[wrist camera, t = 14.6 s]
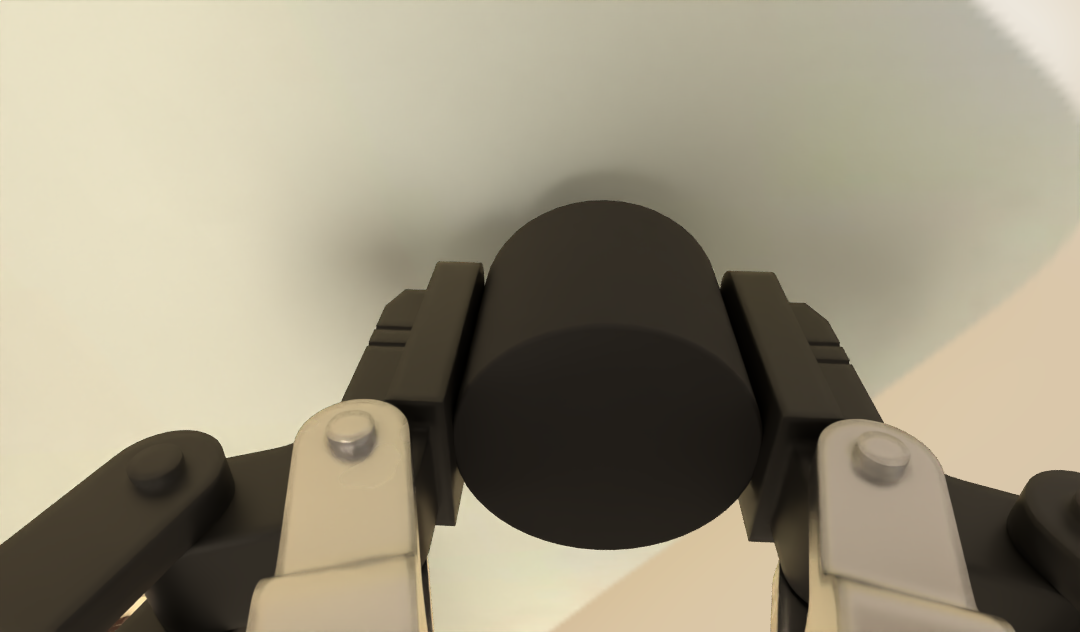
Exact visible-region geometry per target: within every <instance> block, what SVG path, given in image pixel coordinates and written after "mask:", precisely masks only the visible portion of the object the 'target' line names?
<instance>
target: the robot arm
mask: <svg viewBox="0 0 1080 632" xmlns="http://www.w3.org/2000/svg"><path fill="white" fill-rule="evenodd" d="M484 287H485V282H484V269H483V265H482V263H477V262H445V261H439V262H437V264H436V266H435V269H434V272H433V274H432V277H431V279H430V282H429V285H428V287H427V290H411V289H406V290H404V291H403V292H402V293H401V294H399V295H398V296H397V297H396V298H394V299H393V300H392V301H391V302H390V303H388V304H387V305H386V306H385V308H384V310H383V312H382V314H381V317H380V319H379V321H378V323H377V325H376V329H375V330H374V332H373V334H372V336H371V338H370V340H369V346H367V347H366V349H365V351H364V353H363V356H362V358H361V360H360V362H359V364H358V366H357V369H356V371H355V373H354V375H353V377H352V379H351V381H350V384H349V386H348V388H347V390H346V392H345V394H344V397H343V399H342V401H341V402H340V403H337V404H334V405H332V406H329V407H327V408H325V409H323V410H321V411H319V412H318V413H316V414H315V415H313V416H312V417H311V418H309V419H308V420H307V421H306V422H305V423H304V424H303V426H302V427H301V428H300V430H299V431H298V433H297V435H296V437H295V441H294V443H292V444H289V445H287V446H283V447H279V448H275V449H270V450H265V451H260V452H255V453H250V454H245V455H240V456H235V457H230V458H226V457H225V454H224V451H223V449H222V446H221V444H220V443H219V442H218V440H216V439H215V438H214V437H212V436H211V435H208V434H206V433H203V432H199V431H191V430H179V431H171V432H166V433H162V434H158V435H154V436H152V437H149V438H146V439H144V440H141V441H139V442H137V443H135V444H133V445H131V446H129V447H128V448H126V449H124V450H123V451H121V452H120V453H119V454H117V455H116V456H114V457H113V458H112V459H111V460H109V461H108V462H107V463H105V464H104V465H103V466H102V467H100V468H99V469H98V470H96V471H95V472H94V473H93V474H91V475H90V476H89V477H87V478H86V479H85V480H84V481H82V482H81V483H80V484H78V485H77V486H76V487H75V488H73V489H72V490H71V491H69V492H68V493H67V494H66V495H64V496H63V497H62V498H60V499H59V500H58V501H57V502H55V503H54V504H53V505H51V506H50V507H49V508H48V509H46V510H45V511H44V512H42V513H41V514H40V515H39V516H37V517H36V518H35V519H33V520H32V521H31V522H30V523H28V524H27V525H26V526H24V527H23V528H22V529H21V530H19V531H18V532H17V533H15V534H14V535H13V536H12V537H10V538H9V539H8V540H6V541H5V542H4V543H3V544H1V545H0V632H107V631H108V630H109V629H110V628H111V627H112V626H113V625H114V624H115V623H116V622H117V621H118V620H119V619H120V618H121V617H122V616H123V615H124V614H125V613H126V612H127V611H128V610H129V609H130V608H131V607H132V606H133V605H134V604H135V603H136V602H137V601H138V599H139V598H140V597H141V596H142V595H143V594H145V596H146V598H147V599H146V600H145V601H144V602H143V603H142V604H141V605H140V606H139V607H138V608H137V609H136V610H135V611H134V612H133V614H132V615H131V616H130V617H129V618H128V619H127V620H126V621H125V622H124V623H123V624H122V625H121V626H120V627H119V628H118V629H117V630H116V631H115V632H434V624H433V612H432V599H431V587H430V575H429V564H428V557H427V556H428V553H429V550H430V545H431V541H432V536H433V532H434V528H435V525H445V526H455V525H456V520H457V515H458V510H459V505H460V499H461V494H462V489H463V484H464V480H463V478H462V476H461V475H460V473H459V470H458V467H457V464H456V458H455V448H454V436H453V415H454V411H455V407H456V402H457V398H458V394H459V390H460V386H461V382H462V378H463V374H464V370H465V365H466V361H467V357H468V353H469V349H470V345H471V341H472V337H473V332H474V328H475V324H476V320H477V316H478V312H479V308H480V304H481V300H482V295H483V291H484ZM720 292H721V295H722V298H723V301H724V304H725V307H726V310H727V313H728V316H729V319H730V322H731V325H732V328H733V331H734V334H735V337H736V340H737V343H738V346H739V349H740V352H741V355H742V358H743V362H744V365H745V368H746V371H747V374H748V377H749V380H750V383H751V386H752V389H753V392H754V395H755V398H756V401H757V404H758V407H759V410H760V414H761V419H762V424H763V439H762V445H761V449H760V453H759V457H758V461H757V464H756V468H755V471H754V475H753V477H752V479H751V481H750V483H749V484H748V486H747V487H746V489H745V490H744V491H743V493H742V494H741V495H740V496H739V498H738V500H739V504H740V508H741V511H742V515H743V520H744V524H745V528H746V532H747V536H748V540H749V541H752V542H774V543H775V546H776V550H777V553H778V557H779V562H778V565H777V568H776V571H775V574H774V577H773V584H772V608H771V632H1080V473H1078V472H1073V471H1065V470H1051V471H1045V472H1041V473H1039V474H1036V475H1035V476H1033V477H1032V478H1031V479H1030V480H1029V481H1028V483H1027V484H1026V486H1025V487H1024V489H1023V491H1022V492H1021V494H1020V496H1019V495H1016V494H1012V493H1008V492H1004V491H1000V490H997V489H993V488H989V487H986V486H982V485H978V484H974V483H971V482H967V481H963V480H960V479H957V478H954V477H950V476H948V475H946V474H944V472H943V469H942V466H941V464H940V462H939V461H938V459H937V457H935V455H934V454H933V453H932V452H931V451H930V449H928V448H927V447H926V446H925V445H924V444H923V443H922V442H920V441H919V440H917V439H916V438H915V437H913V436H911V435H910V434H908V433H906V432H904V431H902V430H900V429H898V428H895V427H893V426H890V425H888V424H884V422H883V420H882V419H881V417H880V415H879V413H878V411H877V410H876V408H875V406H874V404H873V402H872V400H871V398H870V397H869V395H868V393H867V391H866V389H865V387H864V386H863V384H862V382H861V380H860V378H859V377H858V375H857V373H856V371H855V369H854V367H853V366H852V365H850V364H849V358H848V356H847V355H846V353H845V351H844V349H843V347H840V342H839V340H838V338H837V336H836V335H835V333H834V331H833V329H832V327H831V325H830V324H829V322H828V321H827V320H826V319H825V318H823V317H822V316H821V315H820V314H818V313H817V312H816V311H815V310H813V309H812V308H811V307H810V306H808V305H807V304H806V303H789V302H788V300H787V298H786V296H785V293H784V291H783V289H782V287H781V285H780V283H779V281H778V279H777V277H776V275H775V274H774V273H773V272H751V271H726V272H725V274H724V276H723V279H722V283H721V288H720Z"/></svg>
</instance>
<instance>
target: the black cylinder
mask: <svg viewBox="0 0 1080 632" xmlns="http://www.w3.org/2000/svg"><path fill="white" fill-rule="evenodd" d="M453 436H454V448H455V458H456V464H457V467H458V470H459V473H460V475H461V476H462V478H463V480H464V482H465V484H466V485H467V487H468V488H469V489H470V491H471V492H472V493H473V495H474V496H475V497H476V498H477V499H478V500H479V501H480V502H481V503H482V504H483V505H484V506H485V507H486V508H487V509H488V510H489V511H490V512H492V513H493V514H494V515H495V516H497V517H498V518H499V519H501V520H502V521H504V522H506V523H507V524H509V525H511V526H512V527H514V528H516V529H518V530H520V531H522V532H524V533H526V534H528V535H531V536H534V537H537V538H539V539H542V540H545V541H548V542H552V543H556V544H560V545H564V546H570V547H576V548H583V549H594V550H619V549H632V548H638V547H645V546H650V545H654V544H658V543H662V542H666V541H669V540H672V539H675V538H678V537H681V536H684V535H686V534H688V533H690V532H692V531H694V530H696V529H699V528H700V527H702V526H704V525H705V524H707V523H709V522H710V521H712V520H714V519H715V518H716V517H718V516H719V515H720V514H722V513H723V512H724V511H726V510H727V509H728V508H729V507H730V506H731V505H732V504H733V503H734V502H735V501H736V500H737V499H738V498H739V496H740V495H741V494H742V493H743V491H744V490H745V489H746V487H747V486H748V484H749V483H750V481H751V479H752V477H753V475H754V471H755V468H756V464H757V461H758V457H759V453H760V449H761V445H762V439H763V424H762V419H761V414H760V410H759V407H758V404H757V401H756V398H755V395H754V392H753V389H752V386H751V383H750V380H749V377H748V374H747V371H746V368H745V365H744V362H743V358H742V355H741V352H740V349H739V346H738V343H737V340H736V337H735V334H734V331H733V328H732V325H731V322H730V319H729V316H728V313H727V310H726V307H725V304H724V301H723V298H722V295H721V292H720V289H719V286H718V282H717V279H716V276H715V273H714V271H713V268H712V266H711V263H710V261H709V259H708V257H707V255H706V254H705V252H704V250H703V249H702V247H701V246H700V245H699V244H698V242H697V241H696V240H695V239H694V237H693V236H692V235H690V234H689V233H688V232H687V231H686V230H685V229H684V228H683V227H682V226H680V225H679V224H677V223H676V222H674V221H673V220H671V219H670V218H668V217H666V216H664V215H662V214H660V213H658V212H656V211H654V210H651V209H649V208H646V207H643V206H640V205H636V204H631V203H626V202H620V201H608V200H600V201H585V202H579V203H573V204H569V205H566V206H562V207H559V208H556V209H554V210H551V211H549V212H546V213H544V214H542V215H540V216H538V217H537V218H535V219H533V220H532V221H530V222H528V223H527V224H526V225H524V226H523V227H522V228H520V229H519V230H518V231H517V232H516V233H515V234H514V235H513V236H512V237H511V238H510V239H509V240H508V241H507V242H506V243H505V244H504V246H503V247H502V248H501V250H500V251H499V252H498V254H497V256H496V257H495V259H494V261H493V263H492V265H491V267H490V270H489V273H488V276H487V279H486V283H485V287H484V291H483V295H482V300H481V304H480V308H479V312H478V316H477V320H476V324H475V328H474V332H473V337H472V341H471V345H470V349H469V353H468V357H467V361H466V365H465V370H464V374H463V378H462V382H461V386H460V390H459V394H458V398H457V402H456V407H455V411H454V415H453Z"/></svg>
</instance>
